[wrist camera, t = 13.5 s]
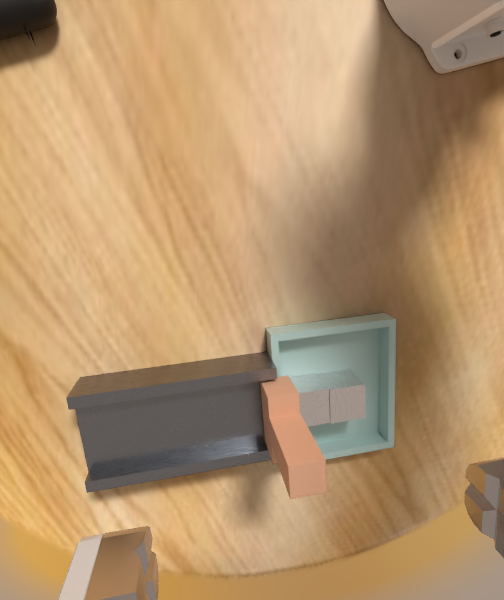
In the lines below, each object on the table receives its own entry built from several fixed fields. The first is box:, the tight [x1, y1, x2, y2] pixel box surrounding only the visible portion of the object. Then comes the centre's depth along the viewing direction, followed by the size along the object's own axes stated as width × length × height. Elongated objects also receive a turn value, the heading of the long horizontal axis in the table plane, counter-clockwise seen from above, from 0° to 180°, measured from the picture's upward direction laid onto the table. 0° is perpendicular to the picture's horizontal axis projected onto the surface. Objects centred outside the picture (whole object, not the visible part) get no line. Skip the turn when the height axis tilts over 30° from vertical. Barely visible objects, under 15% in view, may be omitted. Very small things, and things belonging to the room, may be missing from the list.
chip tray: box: [266, 313, 396, 459], centre depth 43 cm, size 14×16×2 cm
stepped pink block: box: [260, 376, 327, 499], centre depth 34 cm, size 3×7×11 cm, turn 4°
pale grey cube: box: [317, 369, 366, 424], centre depth 42 cm, size 4×4×4 cm
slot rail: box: [67, 352, 277, 493], centre depth 39 cm, size 20×10×4 cm, turn 94°
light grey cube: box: [289, 373, 330, 427], centre depth 41 cm, size 4×4×4 cm
